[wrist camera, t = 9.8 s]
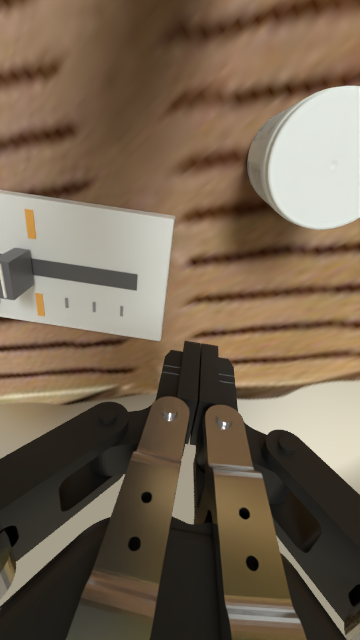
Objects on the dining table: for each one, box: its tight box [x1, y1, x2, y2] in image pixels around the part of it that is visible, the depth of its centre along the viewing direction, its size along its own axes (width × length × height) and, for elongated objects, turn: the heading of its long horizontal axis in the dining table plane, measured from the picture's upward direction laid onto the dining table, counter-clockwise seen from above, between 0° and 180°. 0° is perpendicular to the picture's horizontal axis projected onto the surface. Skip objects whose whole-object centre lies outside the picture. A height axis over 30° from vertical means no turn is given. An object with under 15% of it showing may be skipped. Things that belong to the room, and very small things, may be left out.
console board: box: [0, 190, 176, 341], centre depth 42 cm, size 18×28×4 cm, turn 83°
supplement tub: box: [247, 86, 360, 230], centre depth 28 cm, size 10×10×15 cm
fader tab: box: [0, 248, 34, 300], centre depth 39 cm, size 5×2×5 cm, turn 173°
